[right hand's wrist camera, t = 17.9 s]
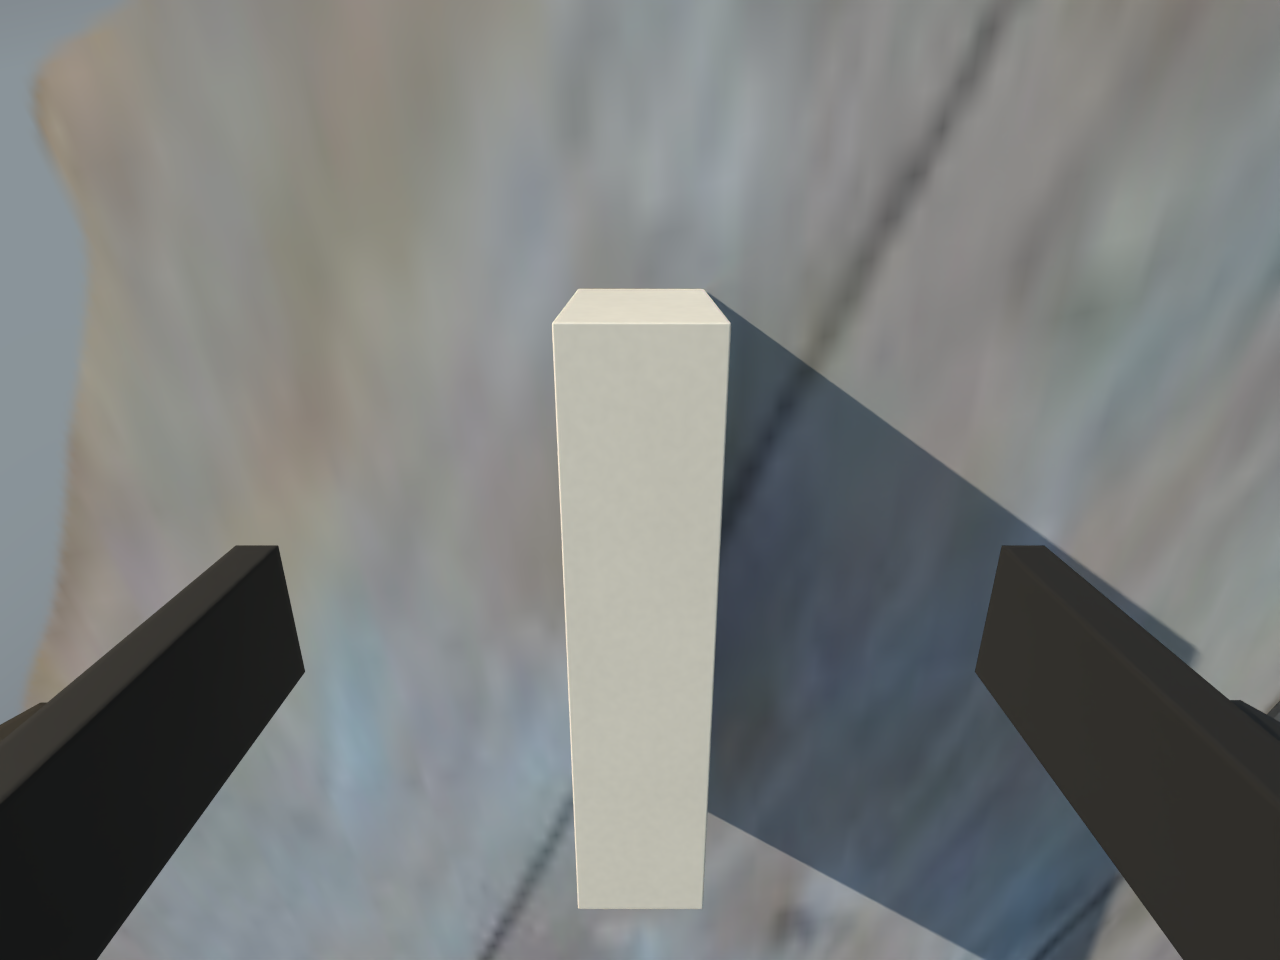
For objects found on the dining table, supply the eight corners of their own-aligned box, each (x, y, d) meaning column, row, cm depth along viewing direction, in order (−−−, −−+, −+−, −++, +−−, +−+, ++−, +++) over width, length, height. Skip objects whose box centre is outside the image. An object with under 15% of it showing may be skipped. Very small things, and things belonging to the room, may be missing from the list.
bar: (577, 288, 30) (551, 322, 21) (704, 288, 30) (731, 322, 21) (592, 751, 39) (578, 909, 30) (688, 751, 39) (702, 909, 30)
